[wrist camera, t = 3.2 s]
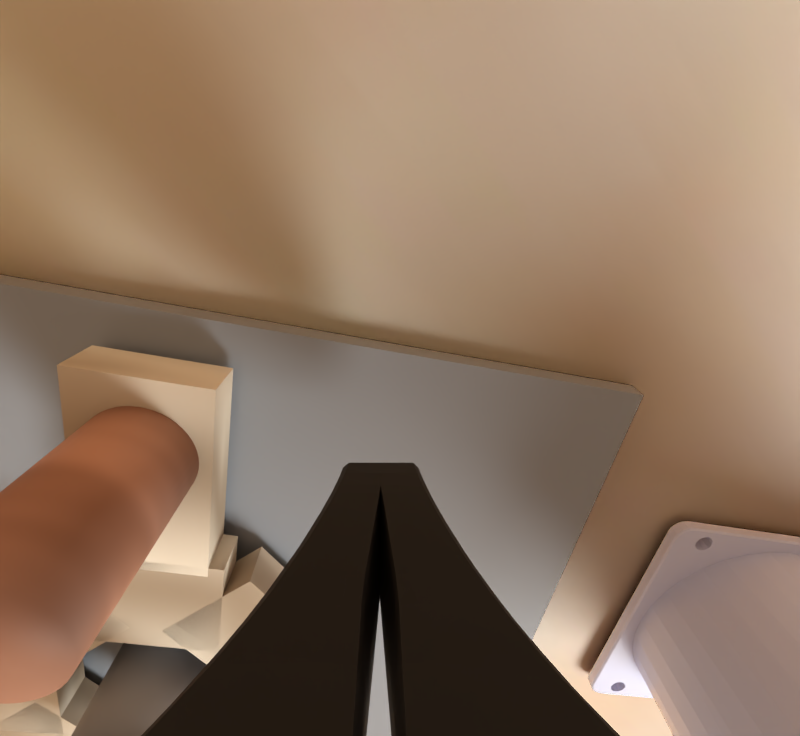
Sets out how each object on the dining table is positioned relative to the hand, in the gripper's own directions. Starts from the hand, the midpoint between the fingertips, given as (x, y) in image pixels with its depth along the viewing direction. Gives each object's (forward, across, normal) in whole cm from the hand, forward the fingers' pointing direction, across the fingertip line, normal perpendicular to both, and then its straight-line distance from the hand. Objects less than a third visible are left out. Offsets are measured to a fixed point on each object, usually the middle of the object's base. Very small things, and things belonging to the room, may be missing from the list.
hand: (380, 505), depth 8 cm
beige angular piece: (+3, +7, +6) cm, 10 cm away
